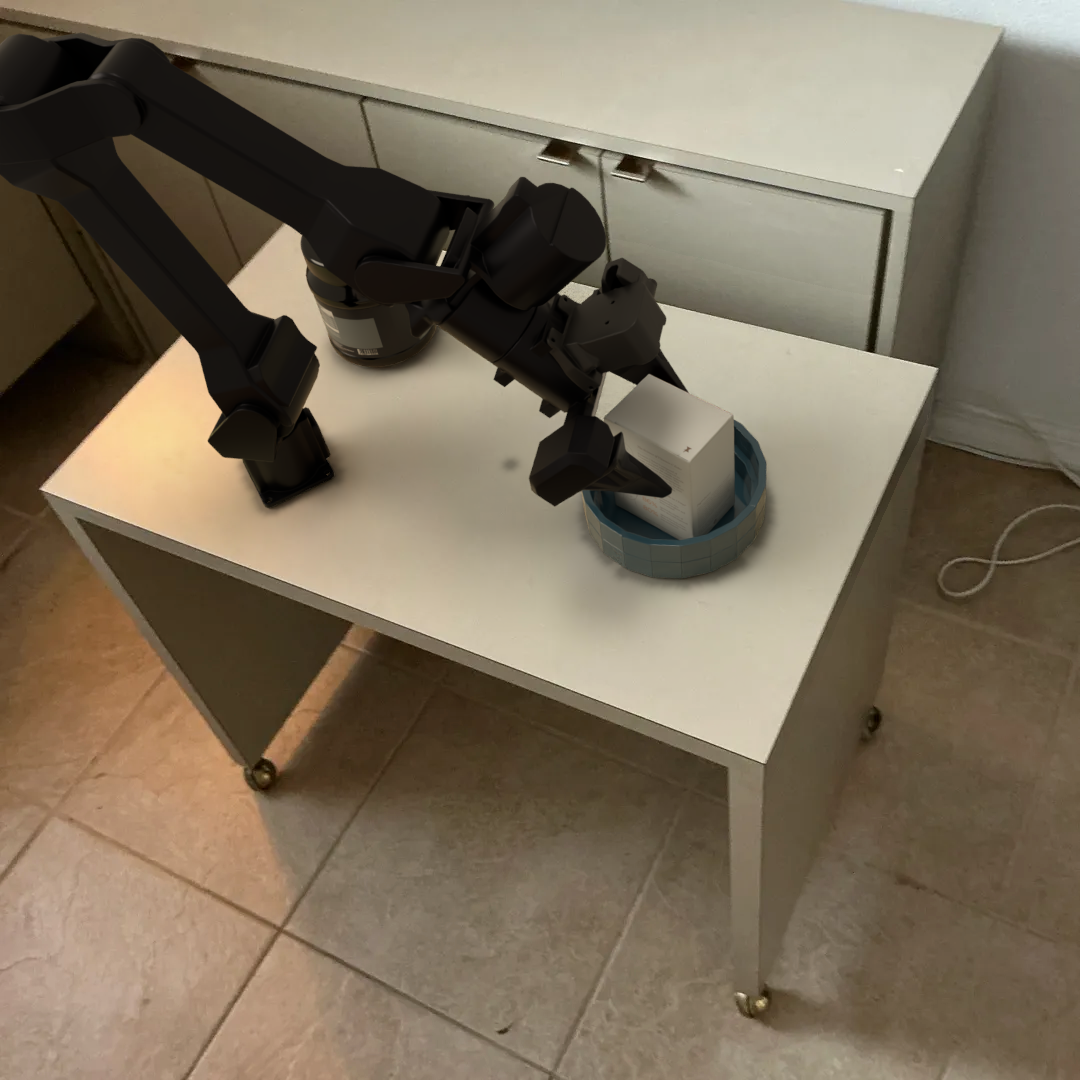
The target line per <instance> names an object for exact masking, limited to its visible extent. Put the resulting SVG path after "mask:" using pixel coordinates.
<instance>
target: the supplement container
mask: <svg viewBox="0 0 1080 1080" xmlns="http://www.w3.org/2000/svg"><path fill="white" fill-rule="evenodd" d="M299 244H300V250H301V254H302V256H303V258H304V261H305V263H306V269H305V278H306V283H307V285H308V288H309V290H310V292H311V293H312V296H313V297H314V300H315V302H316V305H317V308H318V311H319V314H320V316H321V319H322V321H323V324H324V327H325V329H326V332H327V336H328V339H329V340H328V341H329V343H330V345H331V347H332V348H333V350H334V351H335V353H337V355H339V357H340V358H342V359H343V360H345V361H346V362H348V363H350V364H353V365H356V366H359V367H363V368H384V367H389V366H393V365H397V364H400V363H402V362H405V361H407V360H409V359H411V358H413V357H415V356H416V355H417V354H419V353H420V352H421V351H423V350H424V349H425V348H426V347H427V345H428V344H429V343H430V342H431V341H432V339H433V337H434V335H435V333H436V330H437V327H438V326H437V325H436V324H434V325H432V326H431V327H430V328H429V329H428V330H427V331H426V332H425V333H424V334H423V335H422V336H421V337H419V338H415V337H413V336H412V335H411V329H410V321H409V314H408V311H407V309H406V307H405V305H404V304H396V305H395V304H394V306H393V307H387V306H383V305H379V304H377V303H374V302H372V301H370V300H368V299H367V298H365V297H364V296H362V295H361V294H359V293H358V292H357V291H355V290H354V289H353V288H351V287H350V286H348V285H347V284H346V283H344V282H343V281H342V280H340V279H339V278H338V277H336V276H335V275H334V274H332V273H331V272H330V271H328V270H327V269H326V268H325V267H324V265H323V264H322V262H321V261H320V259H319V257H318V256H317V254H316V253H315V251H314V250H313V248H312V247H311V245H310V244H309V242H308V241H307V239H306V238H305V237H304V236H302V235H301V237H300V243H299Z"/></svg>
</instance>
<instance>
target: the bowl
mask: <svg viewBox="0 0 1080 1080" xmlns="http://www.w3.org/2000/svg"><path fill="white" fill-rule="evenodd" d="M763 452H764V451H763V450H762V448H761V445H760V443H759V441H758V440H757V438H755V436H754V435H753V434H752V433H751V432H750V431H749V430H748V429H747V428H746V426H744V425H743V424H742V423H741V422H739V421H737V420H736V419H734V474H735V504H734V505H733V506H732V507H731V508H730V509H729V510H728V512H727V513H726V514H725V515H724V516H723V517H722V518H721V519H720V520H719V522H718V523H717V524H716V525H715V526H714V527H713V528H712V529H711V531H710V532H709V533H708V534H706V535H701V536H697V537H692V538H688V539H683V540H678V539H676V538H675V537H673V536H671V535H669V534H667V533H666V532H664V531H662V530H660V529H659V528H657V527H655V526H653V525H651V524H650V523H648V522H646V521H644V520H642V519H641V518H639V517H637V516H635V515H634V514H632V513H630V512H628V511H627V510H625V509H623V508H621V507H619V506H617V505H616V503H615V496H614V492H613V491H597V490H581V491H580V493H581V500H582V506H583V512H584V516H585V517H584V518H585V520H586V524H587V525H586V526H587V528H588V532H589V535H590V537H591V538H592V540H593V541H594V543H595V544H596V545H597V546H598V548H599V550H601V551H602V553H603V554H604V555H605V556H606V557H608V558H610V559H611V560H612V561H614V562H615V563H616V564H618V565H620V566H621V567H622V568H623V569H626V570H629V571H631V572H634V573H638V574H641V575H644V576H646V577H650V578H656V579H658V578H659V579H687V578H692V577H696V576H700V575H705V574H710V573H713V572H715V571H717V570H718V569H721V568H723V567H725V566H726V565H728V564H730V563H732V562H733V561H735V560H737V559H738V558H739V557H740V556H741V555H742V554H743V553H744V552H745V551H746V550H747V549H748V548H749V547H750V546H751V545H752V544H753V543H754V542H755V540H756V538H757V536H758V534H759V532H760V529H761V527H762V525H763V523H764V521H765V518H766V517H765V515H766V497H767V496H766V495H767V469H768V468H767V467H768V466H767V465H768V463H767V460H766V457H765V455H764V453H763Z"/></svg>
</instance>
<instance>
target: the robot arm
mask: <svg viewBox="0 0 1080 1080" xmlns="http://www.w3.org/2000/svg"><path fill="white" fill-rule="evenodd" d="M130 135H131V136H133V137H134V138H136V139H138V140H140V141H142V142H143V143H145V144H146V145H149V146H150V147H152V148H154V149H155V150H157V151H159V152H161V153H162V154H164V155H165V156H168V157H169V158H171V159H173V160H174V161H176V162H178V163H179V164H181V165H183V166H185V167H187V168H188V169H190V170H191V171H194V173H197V174H198V175H200V176H202V177H203V178H205V179H207V180H209V181H210V182H212V183H214V184H215V185H218V186H219V187H221V188H223V189H224V190H226V191H228V192H230V193H231V194H233V195H235V196H236V197H238V198H240V199H242V200H243V201H245V202H247V203H248V204H250V205H252V206H254V207H256V208H257V209H259V210H261V211H263V212H265V213H266V214H268V215H269V216H271V217H272V218H275V219H276V220H278V221H280V222H281V223H283V224H285V225H287V226H288V227H290V228H291V229H292V230H294V231H295V232H297V233H298V234H299V235H301V237H302V236H304V237H305V238H306V239H307V241H308V242H309V244H310V245H311V247H312V248H313V250H314V251H315V253H316V254H317V256H318V257H319V259H320V261H321V262H322V264H323V265H324V267H325V268H326V269H327V270H328V271H330V272H331V273H332V274H334V275H335V276H336V277H338V278H339V279H340V280H342V281H343V282H344V283H346V284H347V285H348V286H350V287H351V288H353V289H354V290H355V291H357V292H358V293H359V294H361V295H362V296H364V297H365V298H367V299H368V300H370V301H372V302H374V303H377V304H379V305H383V306H387V307H393V306H394V304H395V305H396V304H404V305H405V307H406V309H407V311H408V314H409V321H410V329H411V335H412V336H413V337H415V338H419V337H421V336H422V335H423V334H424V333H425V332H426V331H427V330H428V329H429V328H430V327H431V326H432V325H434V324H436V325H437V327H438V328H440V329H441V330H443V331H444V332H446V333H447V334H449V335H450V336H451V337H453V338H454V339H455V340H456V341H458V342H460V343H462V344H463V345H464V346H466V347H467V348H469V349H470V350H471V351H473V352H474V353H476V354H477V355H479V357H482V358H483V359H484V360H485V361H488V362H489V363H490V364H492V365H493V366H494V367H496V371H495V374H494V377H493V379H492V380H493V381H495V382H496V383H497V384H499V385H500V386H502V387H503V388H506V387H507V386H509V385H510V384H511V383H512V382H513V381H516V382H517V383H519V384H520V385H522V386H523V387H525V388H526V389H527V390H528V391H531V392H532V393H533V394H535V395H536V396H537V397H539V398H540V399H541V403H540V405H539V410H538V411H539V413H541V414H543V416H546V418H548V419H551V418H552V417H554V416H555V415H557V414H558V413H560V412H563V413H564V414H566V415H565V419H564V422H563V425H561V426H560V427H558V428H557V429H555V430H554V431H552V432H551V433H550V434H549V435H547V436H546V437H544V438H543V439H541V440H540V441H539V443H538V445H537V449H536V452H535V456H534V459H533V463H532V466H531V469H530V473H529V476H528V481H529V486H530V491H531V492H533V493H534V494H535V495H536V496H537V497H539V498H541V499H542V500H543V501H546V502H547V503H548V504H550V505H552V506H553V507H555V508H556V507H557V506H558V505H560V504H562V503H564V502H565V501H567V500H568V499H570V498H572V497H574V496H575V495H577V494H578V493H581V490H597V491H613V492H621V493H628V494H635V495H643V496H650V497H658V498H664V497H666V496H668V495H670V494H671V493H672V488H671V487H670V486H669V485H668V484H667V483H666V482H665V481H664V480H663V479H662V478H661V477H660V476H658V475H657V474H656V473H654V472H653V471H652V470H650V469H649V468H648V467H647V466H645V465H644V464H643V463H641V462H640V461H639V460H637V459H636V458H635V457H633V456H632V455H631V454H629V453H628V452H627V451H626V449H625V443H624V437H623V433H622V432H620V433H618V434H616V435H615V436H613V434H612V432H611V430H610V428H609V425H608V424H606V423H605V422H604V420H602V419H601V418H600V417H598V416H596V415H597V411H598V408H599V403H600V400H601V396H602V391H603V388H604V384H605V381H606V377H607V374H608V373H610V374H613V375H615V376H618V377H619V378H622V379H623V380H625V381H628V382H629V383H631V384H633V385H635V386H637V385H638V384H639V383H640V382H641V381H642V380H643V379H644V378H645V377H646V376H647V375H648V374H651V375H652V376H654V377H657V378H659V379H661V380H663V381H665V382H667V383H669V384H671V385H673V386H675V387H677V388H679V389H681V390H683V391H686V392H688V393H690V392H689V390H688V389H687V387H686V386H685V384H684V383H683V381H682V380H681V379H680V377H679V375H678V374H677V372H676V370H675V369H674V367H673V366H672V365H671V363H670V362H669V361H668V358H667V357H666V356H665V354H664V352H663V350H662V349H661V338H662V333H663V327H664V326H666V323H667V316H666V314H665V313H664V311H663V310H662V308H661V306H660V305H659V304H658V302H657V300H656V299H655V296H656V292H657V288H658V282H657V281H656V280H655V278H651V277H648V275H647V274H646V272H645V271H644V270H643V269H641V268H640V267H638V266H637V265H636V264H634V263H633V262H630V261H629V260H628V259H626V258H624V257H620V258H616V259H613V260H610V261H608V262H607V263H605V265H604V269H603V273H602V276H601V280H600V285H601V286H600V287H599V288H597V289H594V290H592V291H593V292H592V294H590V295H589V296H588V297H586V298H585V299H584V300H583V301H582V302H581V303H580V302H577V301H575V300H573V298H570V297H569V296H568V295H567V294H560V292H561V291H562V290H563V289H565V288H566V287H567V286H568V285H569V284H570V283H572V282H573V281H574V280H575V279H576V278H577V277H578V276H580V275H581V274H582V273H583V272H584V271H585V270H587V269H588V268H590V266H592V265H593V264H594V263H595V262H597V260H599V258H601V257H602V255H603V254H604V252H605V250H606V246H607V235H606V230H605V226H604V224H603V221H602V219H601V217H600V215H599V213H598V212H597V210H596V208H595V207H594V206H593V204H592V203H591V202H590V201H589V199H587V197H586V196H584V195H583V194H582V193H581V192H580V191H578V190H577V189H576V188H574V187H570V188H569V187H567V186H565V185H563V184H560V183H556V182H544V183H542V184H540V185H538V186H537V185H536V184H535V183H533V182H532V181H531V180H529V179H528V178H527V177H526V176H520V177H518V179H516V180H515V182H514V183H512V185H510V187H509V188H508V190H507V192H506V194H505V196H504V197H503V199H502V200H500V201H499V202H498V203H497V204H496V206H495V202H494V201H493V200H492V199H490V198H485V197H479V196H472V195H470V194H465V195H464V194H459V193H451V192H444V191H439V190H432V189H431V190H430V189H427V188H425V187H423V186H421V185H419V184H416V183H414V182H412V181H410V180H407V179H405V178H403V177H401V176H398V175H396V174H394V173H392V172H390V171H387V170H385V169H383V168H381V167H371V166H370V167H369V166H354V165H346V164H345V165H344V164H342V163H340V162H338V161H335V160H333V159H331V158H329V157H327V156H325V155H323V154H321V153H320V152H318V151H316V150H315V149H314V148H311V147H310V146H308V145H306V144H305V143H304V142H302V141H300V140H299V139H296V138H295V137H294V136H291V135H290V134H288V133H287V132H285V131H283V130H282V129H280V128H279V127H277V126H275V125H273V124H272V123H270V122H268V121H267V120H265V119H263V118H262V117H260V116H258V115H257V114H255V113H254V112H252V111H251V110H249V109H247V108H245V107H244V106H242V105H241V104H239V103H237V102H235V101H234V100H233V99H231V98H229V97H227V96H225V95H224V94H223V93H221V92H219V91H218V90H216V89H214V88H212V87H210V86H209V85H207V84H206V83H204V82H202V81H200V80H199V79H198V78H196V77H194V76H192V75H191V74H189V73H188V72H186V71H185V70H182V69H181V68H180V67H177V66H176V65H174V64H173V63H172V62H171V60H170V59H169V58H168V56H167V55H166V54H165V52H164V51H163V50H162V49H161V48H160V47H158V46H157V45H156V44H154V43H153V42H151V41H149V40H146V39H144V38H139V37H128V38H123V39H116V40H106V39H103V38H100V37H97V36H94V35H91V34H88V33H85V32H76V33H70V34H65V35H58V36H52V37H45V38H40V37H37V36H35V35H34V34H33V35H32V34H26V33H17V34H12V35H8V36H7V37H6V38H5V39H4V40H3V41H2V42H0V176H1V177H2V178H3V179H4V180H5V181H7V182H8V183H9V184H10V185H11V186H13V187H15V188H17V189H21V190H23V191H26V192H30V193H33V194H35V195H38V196H41V197H44V198H47V199H49V200H53V201H54V202H55V201H56V202H57V203H59V204H60V206H62V207H63V208H64V209H65V210H66V211H67V213H69V215H71V216H72V218H73V219H75V221H76V222H77V223H78V224H79V225H80V226H81V227H82V229H83V230H85V232H86V233H87V234H88V235H89V236H90V237H91V238H92V239H93V240H94V242H96V243H97V245H98V246H99V247H100V248H101V249H102V250H103V251H104V252H105V253H106V254H107V256H108V257H109V258H110V259H111V260H112V261H113V262H114V263H115V264H116V266H118V267H119V269H120V270H121V271H122V272H123V273H124V274H125V275H126V276H127V278H129V279H130V281H131V282H132V283H133V284H134V285H135V286H136V287H137V288H138V289H139V290H140V291H141V293H142V294H143V295H144V296H145V297H146V298H147V300H149V302H150V303H151V304H152V305H153V306H154V307H155V308H156V309H157V310H158V311H159V313H161V314H162V315H163V316H164V318H165V319H166V320H167V321H168V322H169V323H170V324H171V326H173V328H174V329H175V330H176V331H177V332H178V333H179V334H180V335H181V336H182V337H183V339H185V340H186V342H187V343H189V345H190V346H191V347H192V348H193V349H194V351H195V352H196V353H197V355H198V358H199V362H200V366H201V370H202V373H203V378H204V381H205V386H206V389H207V392H208V395H209V396H210V398H211V399H212V400H213V402H214V403H215V404H216V406H217V407H218V409H219V410H220V412H221V413H220V415H219V417H218V419H217V420H216V423H215V425H214V427H213V429H212V431H211V432H210V435H209V437H208V438H207V443H208V444H209V445H210V446H211V447H212V448H213V449H214V451H216V452H217V453H218V454H219V455H220V456H221V457H222V458H225V459H234V460H235V459H236V460H241V461H242V463H243V465H244V468H245V470H246V472H247V473H248V475H249V477H250V479H251V482H252V483H253V486H254V488H255V490H256V493H257V494H258V496H259V498H260V500H261V502H262V504H263V506H264V507H265V508H267V509H271V508H273V507H276V506H278V505H280V504H282V503H285V502H286V501H289V500H290V499H293V498H295V497H297V496H299V495H301V494H303V493H306V492H307V491H310V490H311V489H314V488H316V487H318V486H320V485H323V484H324V483H327V482H329V481H330V480H332V479H334V477H335V471H334V469H333V467H332V466H331V464H330V461H329V460H328V459H329V458H330V457H331V455H332V453H331V452H330V451H331V450H330V449H329V446H328V444H327V442H326V439H325V437H324V435H323V433H322V431H321V428H320V426H319V423H318V421H317V420H316V418H315V417H314V415H313V413H312V411H311V409H310V408H309V407H306V406H305V405H306V403H307V400H308V398H309V397H310V394H311V392H312V390H313V387H314V385H315V384H316V381H317V379H318V376H319V373H320V366H321V363H320V360H319V358H318V356H317V355H316V351H317V349H318V346H317V345H316V344H314V343H313V342H311V341H310V340H309V339H308V338H306V336H305V335H304V334H303V333H302V332H301V330H300V329H299V328H298V326H297V325H296V323H295V321H294V319H293V318H292V317H290V316H288V315H286V314H282V315H281V316H279V317H276V318H272V317H269V316H266V315H263V314H260V313H256V312H253V311H250V309H248V308H247V307H246V306H245V305H244V304H243V302H242V301H241V300H240V299H239V297H237V295H236V294H235V293H234V291H232V289H231V288H230V287H229V286H228V284H226V283H225V281H224V280H223V279H222V277H221V276H220V275H219V274H218V273H217V272H216V270H215V269H214V268H213V267H212V266H211V265H210V263H209V262H208V261H207V260H206V258H205V257H204V256H203V255H202V254H201V253H200V252H199V250H198V249H197V248H196V247H195V246H194V244H193V243H192V242H191V240H189V238H187V236H186V235H185V234H184V232H182V230H181V229H180V228H179V226H177V225H176V223H175V222H174V221H173V219H172V218H170V216H169V215H168V213H166V211H165V210H164V209H163V208H162V207H161V205H159V203H158V202H157V201H156V199H155V198H154V197H153V196H152V195H151V194H150V193H149V191H148V190H147V189H146V188H145V186H144V185H143V184H142V183H141V182H140V180H139V179H138V178H137V177H136V176H135V174H134V173H133V172H132V171H131V170H130V169H129V167H128V166H127V165H126V164H125V163H124V161H122V159H121V158H120V156H119V155H118V152H117V148H116V144H115V141H114V138H118V137H127V136H130ZM450 231H454V232H453V234H452V237H451V239H450V242H449V245H448V246H447V249H446V251H445V253H444V256H443V258H442V261H441V263H440V265H438V262H439V260H440V257H441V255H442V253H443V251H444V248H445V246H446V243H447V241H448V239H449V235H450Z"/></svg>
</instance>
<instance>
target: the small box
mask: <svg viewBox="0 0 1080 1080" xmlns="http://www.w3.org/2000/svg"><path fill="white" fill-rule="evenodd" d="M688 392H689V391H688ZM688 392H686V391H683V390H681V389H679V388H677V387H675V386H673V385H671V384H669V383H667V382H665V381H663V380H661V379H659V378H657V377H654V376H652V375H651V374H648V375H647V376H646V377H645V378H644V379H643V380H642V381H641V382H640V383H639V384H638V385H635V386H634V388H633V389H632V390H630V391H629V392H628V393H627V394H626V395H625V396H624V397H623V398H622V399H621V400H620V401H619V402H618V403H617V404H616V405H615V406H614V407H613V408H611V410H610V411H609V412H608V413H607V414H606V415H605V416H604V417H603V421H604V422H605V423H606V424H608V425H609V428H610V430H611V432H612V434H613V436H615V435H616V434H618V433H620V432H622V433H623V437H624V443H625V449H626V451H627V452H628V453H629V454H631V455H632V456H633V457H635V458H636V459H637V460H639V461H640V462H641V463H643V464H644V465H645V466H647V467H648V468H649V469H650V470H652V471H653V472H654V473H656V474H657V475H658V476H660V477H661V478H662V479H663V480H664V481H665V482H666V483H667V484H668V485H669V486H670V487H671V488H672V493H671V494H670V495H668V496H666V497H664V498H658V497H650V496H643V495H635V494H628V493H621V492H614V496H615V503H616V505H617V506H619V507H621V508H623V509H625V510H627V511H628V512H630V513H632V514H634V515H635V516H637V517H639V518H641V519H642V520H644V521H646V522H648V523H650V524H651V525H653V526H655V527H657V528H659V529H660V530H662V531H664V532H666V533H667V534H669V535H671V536H673V537H675V538H676V539H678V540H683V539H688V538H692V537H697V536H701V535H706V534H708V533H709V532H710V531H711V529H712V528H713V527H714V526H715V525H716V524H717V523H718V522H719V520H720V519H721V518H722V517H723V516H724V515H725V514H726V513H727V512H728V510H729V509H730V508H731V507H732V506H733V505H734V504H735V474H734V420H735V418H734V413H732V412H729V411H728V410H726V409H723V408H721V407H719V406H717V405H715V404H713V403H711V402H709V401H706V400H704V399H702V398H700V397H698V396H695V394H692V393H690V392H689V393H688Z"/></svg>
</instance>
